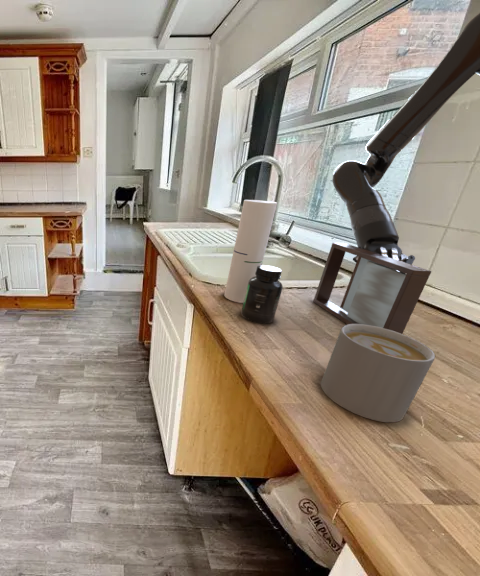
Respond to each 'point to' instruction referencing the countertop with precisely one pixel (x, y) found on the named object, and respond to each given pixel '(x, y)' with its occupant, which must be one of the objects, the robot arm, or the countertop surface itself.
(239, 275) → the cylindrical container
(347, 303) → the window pane
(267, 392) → the countertop surface
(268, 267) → the supplement bottle
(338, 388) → the coffee mug
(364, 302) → the window frame
